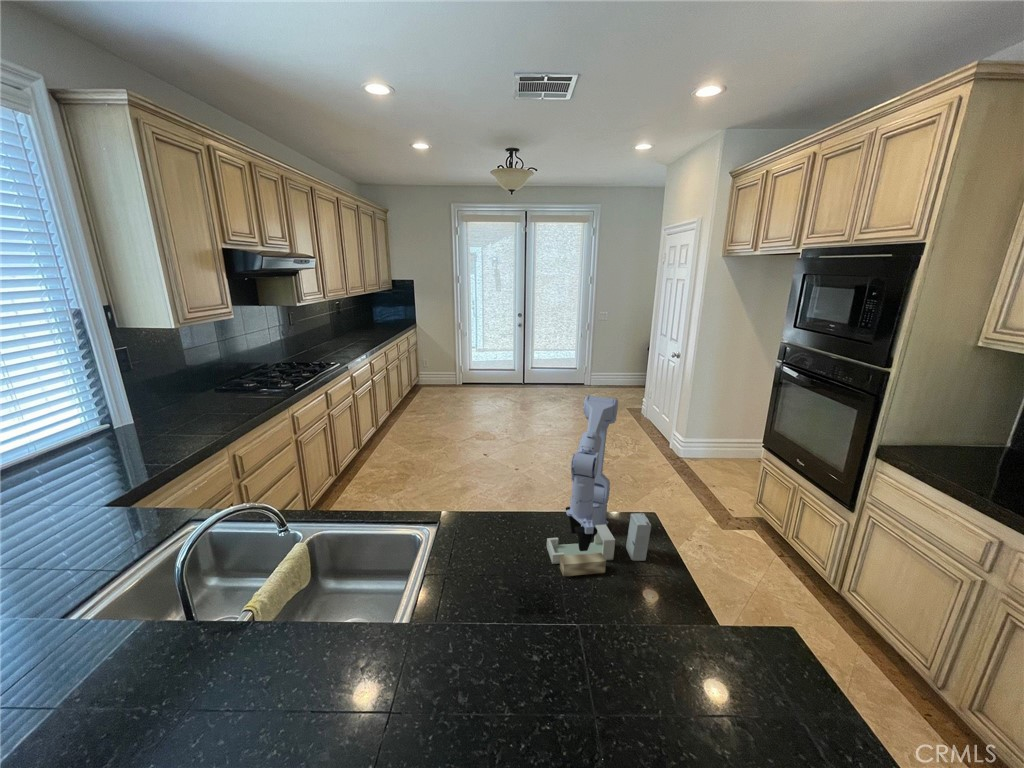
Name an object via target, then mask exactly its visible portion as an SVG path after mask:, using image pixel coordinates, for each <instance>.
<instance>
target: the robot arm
mask: <svg viewBox="0 0 1024 768" xmlns="http://www.w3.org/2000/svg"><path fill="white" fill-rule="evenodd" d="M618 400H619V399H618V398H615V397H614V398H611V397H604V396H603V397H602V396H594V395H590V394H587V395H586V396H585V397H584V401H583V414H584V416H585V418H586V419H587V421H588V422H587V429H586V431H584V432H583V433H582V434H581V436H580V439H579V444H578V447H577V450H576V453H574V454H573V455H572V457H571V458H572V459H571V461H570V462H571V464H570V473H571V477H570V478H571V481H572V485H571V486H572V487H571V497H570V498H569V499H570V502H569V505H570V506H567V507H565V513H566V515H567V516H568V520H569V527H570V532H571V534H576V535H577V542H578V543H577V544H578V546H579V550H580V551H587V550H588V548H589V545H590V543H592V540H593V539H594V536H595V535H596V534H597V529H596V527H595V525H605V524H606V526H608V524H609V520H607V515H608V513H607V512H608V503H609V498H610V493H611V491H610V490H611V481H610V479H609V478H607V476H606V475H605V474H604V473H603V468H604V459H605V452H606V442H607V434H608V428H609V426H610V425H612V424H614V423H616V421H617V417H618V416H617V415H618V410H619V409H618V407H619V401H618Z"/></svg>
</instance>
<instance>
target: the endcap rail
mask: <svg viewBox="0 0 1024 768" xmlns="http://www.w3.org/2000/svg"><path fill="white" fill-rule="evenodd" d="M595 527H596V529H597V534H596V535H595V536H594V537H593V539H594V540H593V542H591V543H590V545H589V548H588V550H587V551H580V550H579V546H578V543H569V544H568V543H566V544H565V543H564V544H559V537H549V538H548V537H547V538H546V548H547V549H546V550H547V551H548V552H547V553H548V556H549V558H550V560H551V561H550V562H551V564H552V565H557V564H559V565H560V556H569V555H580V554H592V553H602V555H603V556H604V558H605V560H606V561H613V560H614V557H615V545H616V538H615V537H614V536H613V534H612V531H610V529H609V527H608V525H606V524H605V525H595Z"/></svg>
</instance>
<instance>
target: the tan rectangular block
mask: <svg viewBox="0 0 1024 768" xmlns="http://www.w3.org/2000/svg"><path fill="white" fill-rule="evenodd" d="M606 566H607V560H605V558H604V556H603V555H602V553H592V554H580V555H569V556H560V564H559V569H560V572H561V574H562V577H564V578H565V577H574V576H582V575H594V574H604V573H606Z"/></svg>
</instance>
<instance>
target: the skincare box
mask: <svg viewBox="0 0 1024 768" xmlns="http://www.w3.org/2000/svg"><path fill="white" fill-rule="evenodd" d="M629 518H630V519H629V525H628V530H627V532H628V533H627V538H626V539H627V540H626V544H625V548H626V551H627V553H628V556H629V559H630V560H632V561H636V562H640V561H641V562H642V561H646V559H647V553H648V548H649V542H650V536H651V535H650V534H651V531H652V524H651V523H650V521H649V519H648V517H647V515H646V514H645V513H643V512H642V513H641V512H640V513H637V512H636V513H630V517H629Z"/></svg>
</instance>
